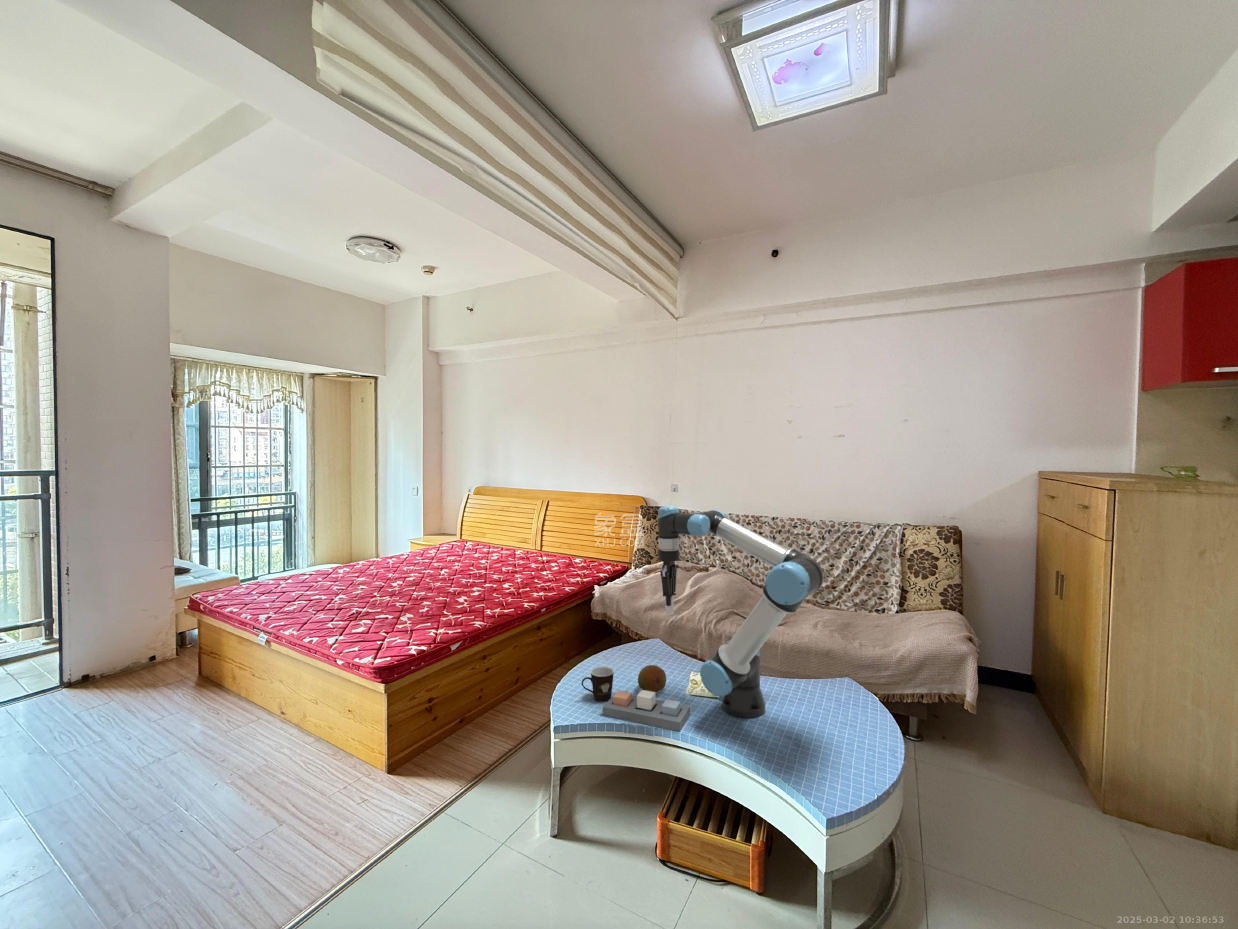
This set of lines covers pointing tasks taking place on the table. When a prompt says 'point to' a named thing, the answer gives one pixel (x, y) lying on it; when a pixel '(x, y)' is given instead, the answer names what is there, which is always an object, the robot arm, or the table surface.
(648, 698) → the key ivory
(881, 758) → the table surface
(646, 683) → the fruit
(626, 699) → the key terracotta
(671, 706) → the key slate
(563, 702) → the table surface
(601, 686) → the coffee mug
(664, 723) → the grey slotted tray
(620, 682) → the table surface
